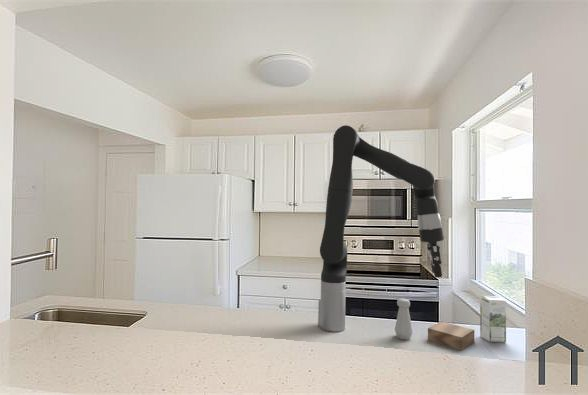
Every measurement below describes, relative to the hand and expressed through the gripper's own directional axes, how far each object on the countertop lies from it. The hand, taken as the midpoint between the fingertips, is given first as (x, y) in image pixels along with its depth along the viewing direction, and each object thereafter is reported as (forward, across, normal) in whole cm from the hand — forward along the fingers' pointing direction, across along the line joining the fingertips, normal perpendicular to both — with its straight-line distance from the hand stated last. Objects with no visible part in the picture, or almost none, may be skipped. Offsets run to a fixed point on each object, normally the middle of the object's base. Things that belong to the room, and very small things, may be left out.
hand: (437, 275), depth 109 cm
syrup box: (+25, -10, +16) cm, 31 cm away
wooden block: (+23, -3, +2) cm, 23 cm away
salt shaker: (+21, 0, -14) cm, 25 cm away
